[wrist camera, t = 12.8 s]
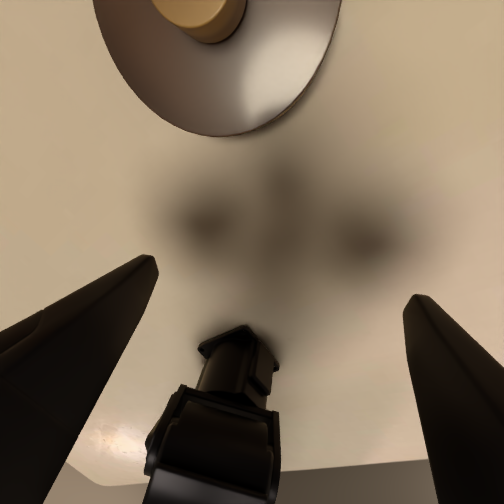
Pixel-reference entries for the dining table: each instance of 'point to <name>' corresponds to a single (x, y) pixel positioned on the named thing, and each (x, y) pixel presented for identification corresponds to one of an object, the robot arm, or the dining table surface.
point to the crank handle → (203, 17)
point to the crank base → (220, 62)
